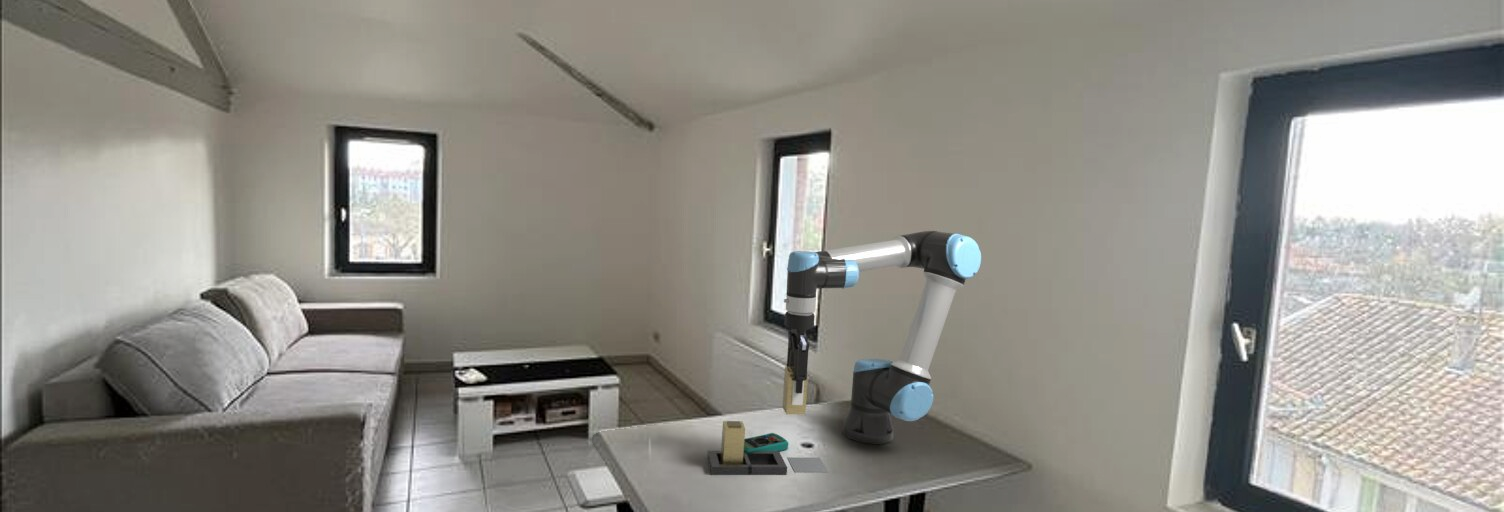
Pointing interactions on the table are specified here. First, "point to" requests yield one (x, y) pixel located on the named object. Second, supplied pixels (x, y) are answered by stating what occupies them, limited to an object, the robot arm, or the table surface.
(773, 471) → the dark grey block holder
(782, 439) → the digital multimeter
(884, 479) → the table surface
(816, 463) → the mat
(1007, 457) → the table surface
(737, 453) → the gold rectangular block
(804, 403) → the tan rectangular block
